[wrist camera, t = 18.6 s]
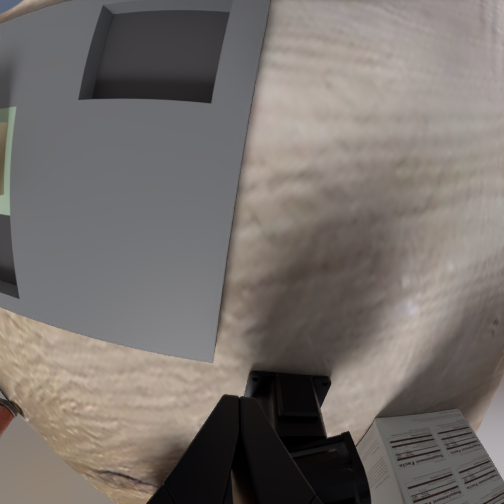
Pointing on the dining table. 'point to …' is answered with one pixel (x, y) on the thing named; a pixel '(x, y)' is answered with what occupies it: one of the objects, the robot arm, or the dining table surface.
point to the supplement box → (428, 461)
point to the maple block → (2, 153)
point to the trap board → (125, 165)
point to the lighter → (6, 414)
